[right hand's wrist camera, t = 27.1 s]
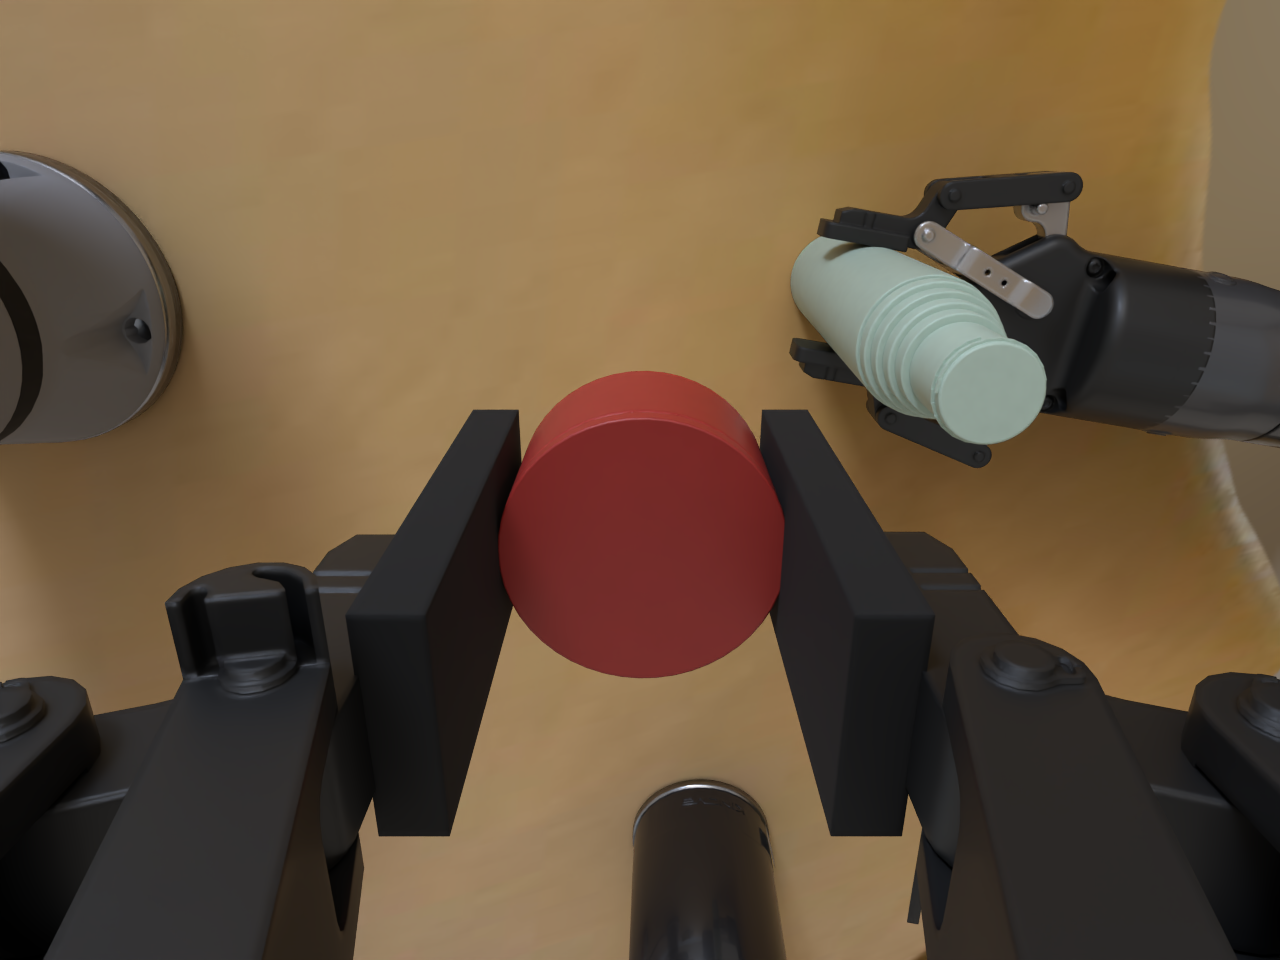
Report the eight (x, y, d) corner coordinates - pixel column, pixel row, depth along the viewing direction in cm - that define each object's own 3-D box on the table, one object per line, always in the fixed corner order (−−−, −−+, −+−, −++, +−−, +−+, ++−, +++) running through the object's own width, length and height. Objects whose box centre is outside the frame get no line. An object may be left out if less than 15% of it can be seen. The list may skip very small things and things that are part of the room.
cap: (740, 343, 13) (761, 387, 11) (783, 568, 15) (810, 649, 12) (490, 400, 14) (458, 455, 11) (558, 615, 15) (542, 701, 13)
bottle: (894, 239, 44) (1109, 321, 23) (870, 332, 45) (1049, 489, 24) (801, 224, 44) (930, 293, 22) (781, 318, 45) (883, 464, 24)
